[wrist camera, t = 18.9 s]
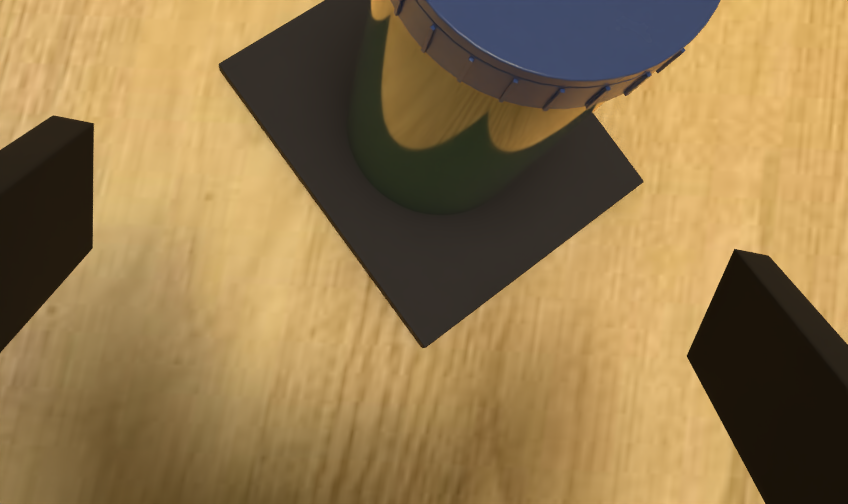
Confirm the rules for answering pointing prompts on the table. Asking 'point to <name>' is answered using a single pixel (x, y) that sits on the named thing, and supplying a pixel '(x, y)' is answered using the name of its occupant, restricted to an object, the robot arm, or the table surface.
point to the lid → (554, 44)
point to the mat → (398, 226)
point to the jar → (437, 126)
